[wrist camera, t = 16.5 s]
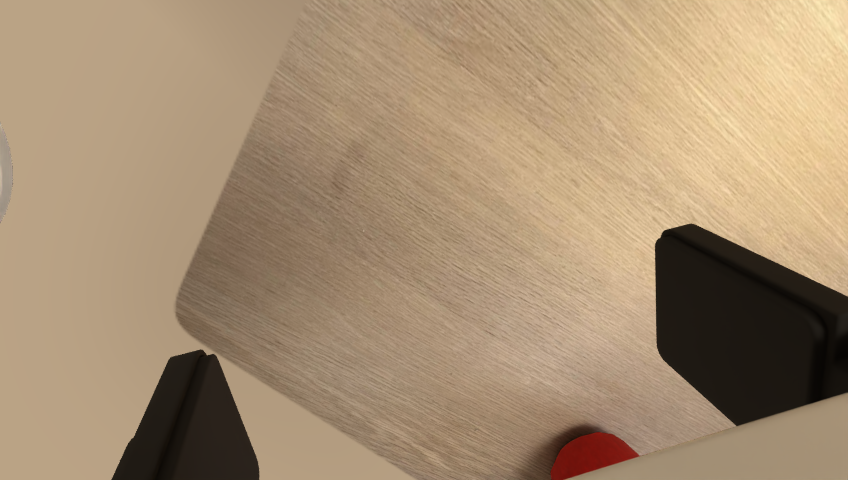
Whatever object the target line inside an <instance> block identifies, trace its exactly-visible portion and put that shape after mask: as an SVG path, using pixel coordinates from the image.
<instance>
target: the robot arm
mask: <svg viewBox="0 0 848 480" xmlns="http://www.w3.org/2000/svg"><path fill="white" fill-rule="evenodd" d="M655 271H656V335H657V348H658V351H659V354H660V356H661V357H662V359H663V360H664V361H665V362H666V363H667V364H668V365H669V366H671V367H672V368H673V369H674V370H675V371H676V372H677V373H678V374H679V375H681V376H682V377H683V378H684V379H685V380H686V381H687V382H688V383H689V384H691V385H692V386H693V387H694V388H695V389H696V390H697V391H698V392H699V393H701V394H702V395H703V396H704V397H705V398H706V399H707V400H708V401H709V402H711V403H712V404H713V405H714V406H715V407H716V408H717V409H718V410H720V411H721V412H722V413H723V414H724V415H725V416H726V417H727V418H728V419H730V420H731V421H732V422H733V423H734V424H735V425H736V427H733V428H729V429H726V430H723V431H720V432H716V433H713V434H710V435H707V436H704V437H700V438H697V439H694V440H691V441H687V442H684V443H681V444H678V445H675V446H671V447H668V448H665V449H662V450H659V451H655V452H652V453H649V454H646V455H642V456H639V457H636V458H633V459H630V460H626V461H623V462H620V463H617V464H613V465H610V466H607V467H604V468H601V469H597V470H594V471H591V472H588V473H584V474H581V475H578V476H575V477H572V478H568V479H565V480H848V297H847V296H845V295H843V294H841V293H839V292H837V291H835V290H833V289H830V288H828V287H826V286H824V285H822V284H820V283H818V282H816V281H814V280H811V279H809V278H807V277H805V276H803V275H801V274H799V273H797V272H794V271H792V270H790V269H788V268H786V267H784V266H782V265H780V264H778V263H775V262H773V261H771V260H769V259H767V258H765V257H763V256H761V255H758V254H756V253H754V252H752V251H750V250H748V249H746V248H744V247H741V246H739V245H737V244H735V243H733V242H731V241H729V240H727V239H725V238H722V237H720V236H718V235H716V234H714V233H712V232H710V231H708V230H705V229H703V228H701V227H699V226H697V225H695V224H687V225H683V226H679V227H675V228H672V229H668V230H665V231H664V232H663V233H662V235H661V238H659V239H658V240H657V241H656V244H655ZM112 480H259V466H258V461H257V458H256V455H255V453H254V450H253V447H252V445H251V442H250V440H249V437H248V435H247V432H246V430H245V427H244V424H243V422H242V420H241V417H240V414H239V412H238V409H237V406H236V404H235V402H234V399H233V396H232V394H231V391H230V389H229V386H228V383H227V381H226V378H225V376H224V373H223V371H222V368H221V366H220V363H219V361H218V359H217V357H216V355H214V354H211V355H206V353H205V352H204V351H203V350H197V351H193V352H189V353H185V354H182V355H178V356H174V357H171V358H170V359H169V360H168V363H167V365H166V367H165V369H164V371H163V374H162V376H161V378H160V380H159V383H158V385H157V387H156V389H155V391H154V394H153V396H152V398H151V400H150V403H149V405H148V407H147V409H146V411H145V414H144V416H143V418H142V420H141V423H140V425H139V427H138V429H137V431H136V434H135V436H134V438H132V439H131V441H130V442H129V443H128V445H127V447H126V449H125V451H124V454H123V456H122V458H121V460H120V463H119V464H118V467H117V469H116V471H115V473H114V475H113V478H112Z"/></svg>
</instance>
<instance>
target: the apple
mask: <svg viewBox="0 0 848 480" xmlns="http://www.w3.org/2000/svg"><path fill="white" fill-rule="evenodd" d="M636 457H639V455H638V454H637V453H636V452H635V451H634V450H633V449H632V448H631V447H630V446H628V445H627V444H626V443H625V442H624V441H623V440H621V439H619V438H618V437H616V436H615V435H613V434H607V433H601V432H596V433H592V434H588V435H584V436H581V437H578V438H576V439H574V440H573V441H571V442H569V443H567V444H566V445H565V446H564V447H563V448H562V449H561V450H560V452H559V454H558V456H557V458H556V460H555V463H554V465H553V467H552V470H551V472H550V473H551V480H565V479H568V478H572V477H575V476H578V475H581V474H584V473H588V472H591V471H594V470H597V469H601V468H604V467H607V466H610V465H613V464H617V463H620V462H623V461H626V460H630V459H633V458H636Z"/></svg>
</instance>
